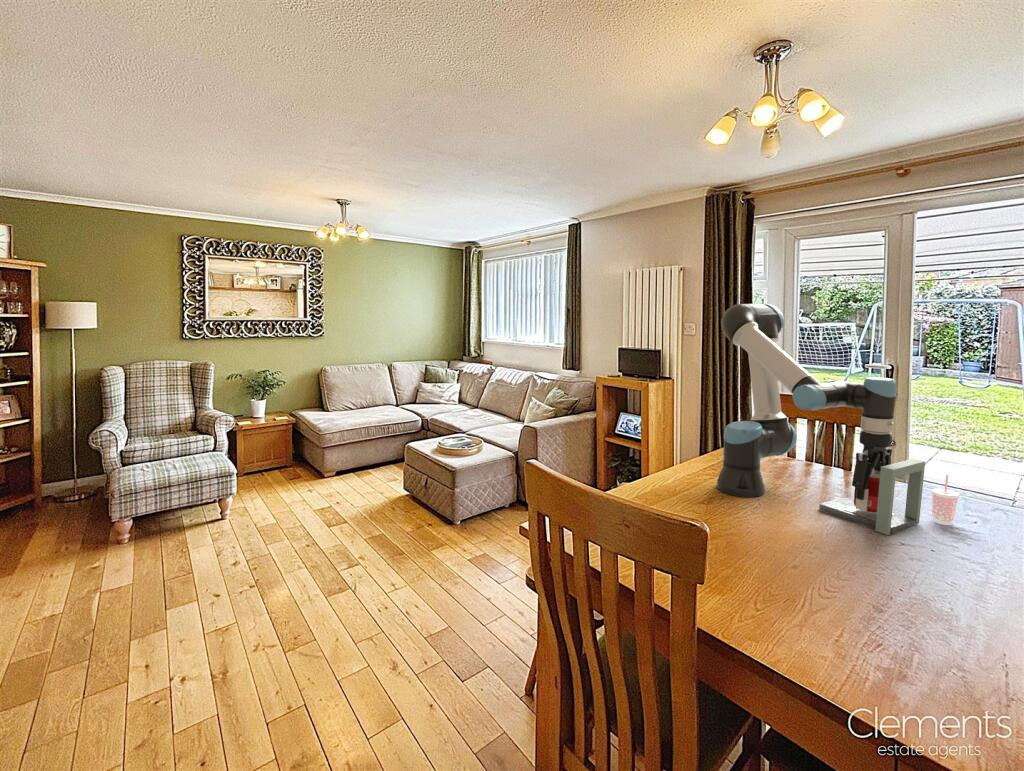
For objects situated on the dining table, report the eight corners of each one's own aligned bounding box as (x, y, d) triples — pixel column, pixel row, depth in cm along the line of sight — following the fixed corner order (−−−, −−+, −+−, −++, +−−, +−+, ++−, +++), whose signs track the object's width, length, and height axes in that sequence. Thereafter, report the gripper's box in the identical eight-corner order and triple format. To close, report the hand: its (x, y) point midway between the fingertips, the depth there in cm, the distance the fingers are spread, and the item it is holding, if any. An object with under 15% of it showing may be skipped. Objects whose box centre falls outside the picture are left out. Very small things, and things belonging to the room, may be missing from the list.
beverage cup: (943, 527, 141) (949, 479, 139) (922, 518, 147) (927, 472, 145) (962, 525, 142) (967, 477, 140) (940, 516, 148) (945, 471, 146)
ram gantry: (875, 530, 138) (880, 466, 136) (907, 520, 145) (912, 458, 143) (887, 534, 136) (893, 469, 133) (919, 523, 142) (925, 461, 140)
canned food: (892, 513, 142) (895, 476, 141) (860, 512, 144) (863, 475, 142) (878, 503, 150) (881, 468, 148) (848, 502, 151) (851, 467, 150)
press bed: (819, 509, 154) (819, 503, 154) (842, 503, 160) (843, 496, 159) (891, 534, 137) (891, 526, 136) (915, 526, 142) (916, 518, 141)
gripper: (869, 438, 136) (862, 518, 139) (910, 429, 145) (903, 505, 148) (840, 432, 142) (834, 509, 146) (882, 425, 151) (876, 497, 155)
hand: (869, 506), depth 147 cm, fingers closed on canned food, 8 cm apart
